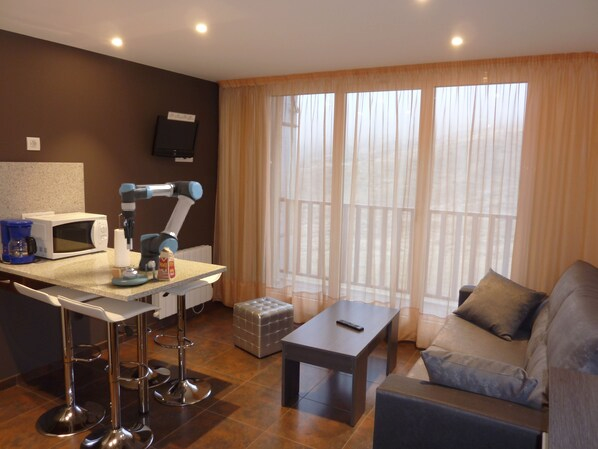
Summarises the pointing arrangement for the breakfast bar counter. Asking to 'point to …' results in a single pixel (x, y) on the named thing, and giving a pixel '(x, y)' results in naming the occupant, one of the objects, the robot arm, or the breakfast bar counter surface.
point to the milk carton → (166, 265)
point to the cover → (130, 274)
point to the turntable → (120, 281)
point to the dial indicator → (152, 265)
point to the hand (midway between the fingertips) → (129, 249)
